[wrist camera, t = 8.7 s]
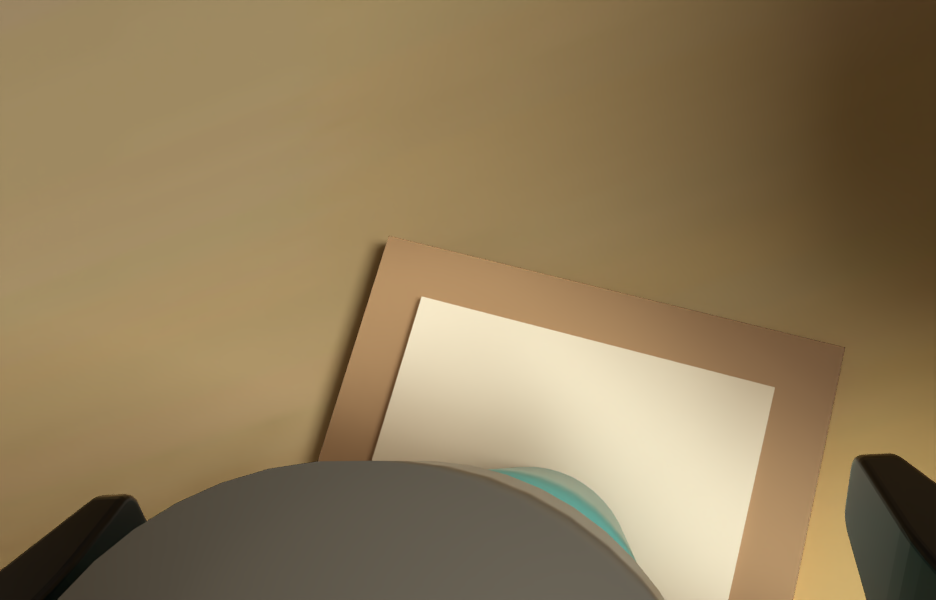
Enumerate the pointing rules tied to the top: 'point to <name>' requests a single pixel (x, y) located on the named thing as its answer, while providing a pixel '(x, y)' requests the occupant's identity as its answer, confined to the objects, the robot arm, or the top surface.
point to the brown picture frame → (600, 409)
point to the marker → (376, 539)
